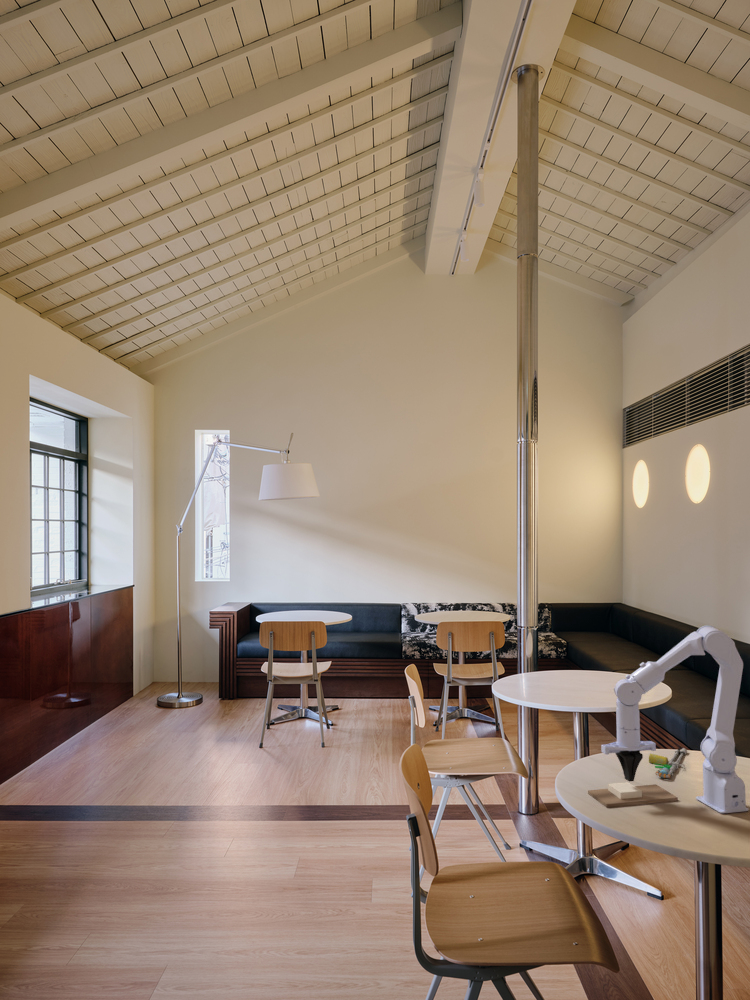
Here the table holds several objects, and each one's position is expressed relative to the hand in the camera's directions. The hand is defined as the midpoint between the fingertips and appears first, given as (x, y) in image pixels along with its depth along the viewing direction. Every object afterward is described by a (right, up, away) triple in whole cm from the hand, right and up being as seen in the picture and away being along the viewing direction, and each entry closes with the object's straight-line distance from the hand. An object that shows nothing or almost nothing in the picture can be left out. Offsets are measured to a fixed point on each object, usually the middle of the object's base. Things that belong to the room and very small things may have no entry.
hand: (629, 779), depth 171 cm
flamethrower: (+21, -6, +24) cm, 32 cm away
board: (0, -4, -1) cm, 4 cm away
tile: (+1, -3, 0) cm, 3 cm away
